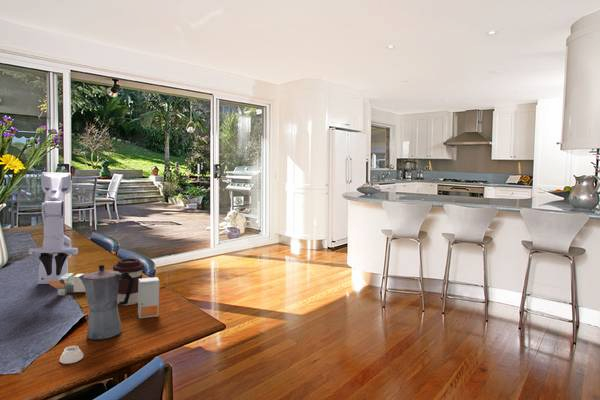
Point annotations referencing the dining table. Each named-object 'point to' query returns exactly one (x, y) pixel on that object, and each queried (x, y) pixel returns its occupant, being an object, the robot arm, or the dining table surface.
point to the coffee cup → (135, 272)
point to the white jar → (71, 355)
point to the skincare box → (148, 297)
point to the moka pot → (104, 302)
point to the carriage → (78, 284)
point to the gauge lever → (57, 284)
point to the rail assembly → (67, 284)
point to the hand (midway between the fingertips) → (54, 274)
